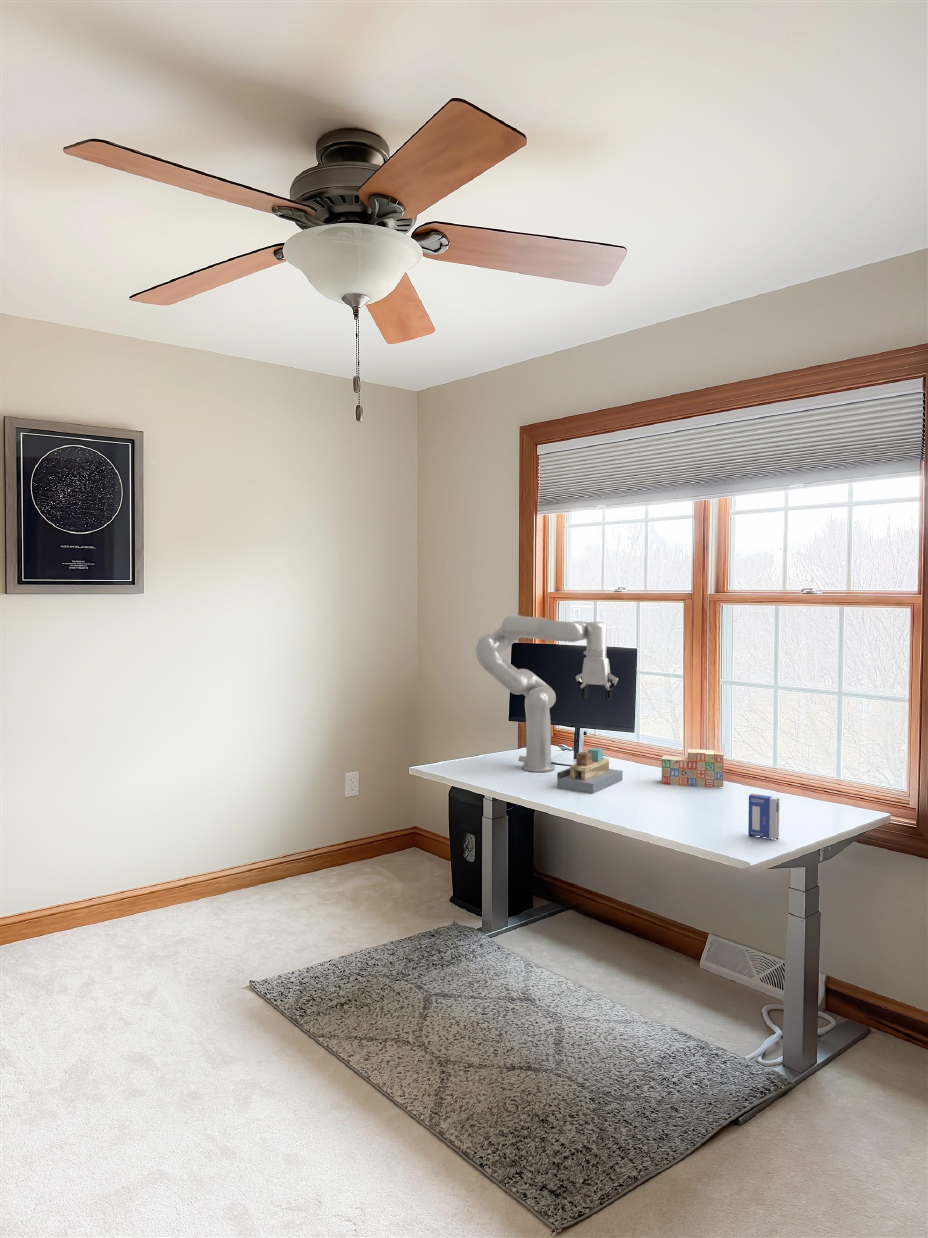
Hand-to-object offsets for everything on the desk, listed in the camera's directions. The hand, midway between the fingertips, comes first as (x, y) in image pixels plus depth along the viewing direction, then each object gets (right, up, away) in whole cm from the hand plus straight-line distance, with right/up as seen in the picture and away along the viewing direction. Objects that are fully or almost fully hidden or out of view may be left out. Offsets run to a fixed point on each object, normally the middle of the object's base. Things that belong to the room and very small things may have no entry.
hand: (596, 699), depth 316 cm
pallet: (-5, -26, -16) cm, 31 cm away
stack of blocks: (+32, -29, -17) cm, 46 cm away
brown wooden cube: (-8, -21, -20) cm, 30 cm away
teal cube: (-2, -21, -13) cm, 25 cm away
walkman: (+35, -32, -80) cm, 92 cm away
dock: (-5, -29, -16) cm, 34 cm away
